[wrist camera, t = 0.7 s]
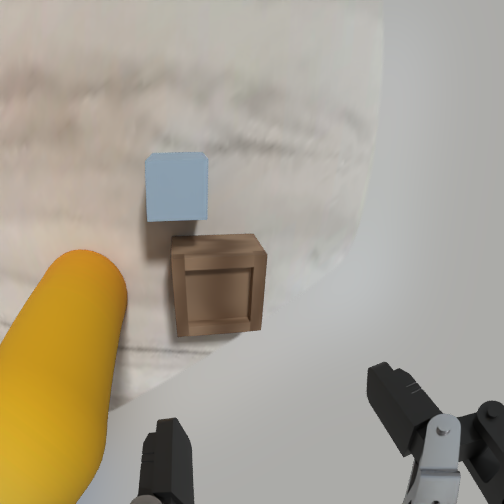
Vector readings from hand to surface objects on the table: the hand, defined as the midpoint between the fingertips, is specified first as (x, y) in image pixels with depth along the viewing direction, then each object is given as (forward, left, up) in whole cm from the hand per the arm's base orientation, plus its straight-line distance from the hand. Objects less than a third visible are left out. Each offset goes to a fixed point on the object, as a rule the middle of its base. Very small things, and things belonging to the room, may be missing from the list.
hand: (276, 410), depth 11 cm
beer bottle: (-12, -8, -21) cm, 26 cm away
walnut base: (+1, -4, -21) cm, 21 cm away
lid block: (-4, +5, -21) cm, 22 cm away
